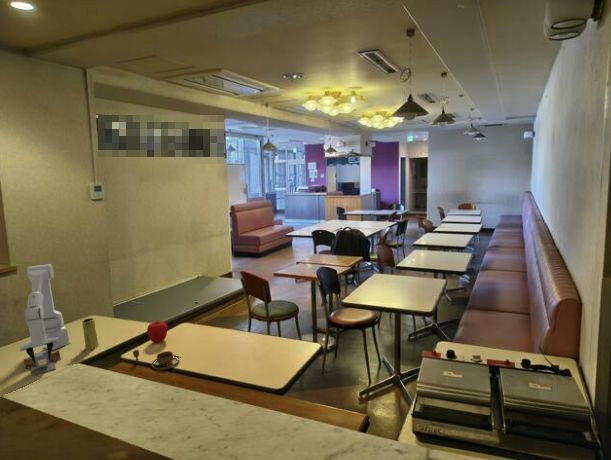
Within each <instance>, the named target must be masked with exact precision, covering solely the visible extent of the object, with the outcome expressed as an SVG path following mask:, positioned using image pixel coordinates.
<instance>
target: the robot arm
mask: <svg viewBox="0 0 611 460" xmlns="http://www.w3.org/2000/svg"><path fill="white" fill-rule="evenodd" d="M26 275H27V278H28V279H29V281H30V282H31V293H30V294H28V297H27V305H26V309H24V312H23V314H24V315H23V317H24V320H25V323H26V326H28V331H29V337H30V338H29V339H30V342H28V343H26V344H22V345H19V351H20V352H23V351H26V353H27V356H29V358H32V360H33V362H34V364H36V362H35V352H34V350H35V349H34V348H38V347H42V346H43V348H44V349H46V351H48V358H49V360H51V359H50V357H51V352H53V351H54V350H57V349H59V348H61V347H64V346H66V345H69V344H71V342H70V338H69V333H68V329H67V328H66V326H65V325H64V324H65V322H64V317H63V313H62V312H61V311H59V310H56V309H55V303H54V299H53V292H52V291H53V290H52V286H51V284H52V283H51V280H52V279H54V278H55V273H54V267H53V265H52V264H51V263H47V264H40V265H39V264H38V265H33V266H30V265H28V267H27V269H26Z"/></svg>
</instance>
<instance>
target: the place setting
mask: <svg viewBox="0 0 611 460" xmlns="http://www.w3.org/2000/svg"><path fill="white" fill-rule="evenodd" d="M132 353H133V357H134V358H135V362H136V363H139V359H138V357H139V356H140V351H139V349H134V350H133V351H132ZM173 356H174V357H177V358H178V359H179V360H178V361H176V362H175V363H174V364H172V365H171V363H172V362H173V360H174V358H173ZM156 360H157V362H156V363H157V364H158V365H161V366H162V365H166V366H162V367H157V366H154V365H155V364H154V365H153V363H154V362H155V361H156ZM178 362H179V363H180V357H179V356H176V354H174V353H173V352H172V351H169V350H168V351H162V352H160V353H158V354H157V355H156V359H154V360H153V361H152V362H151V368H153V369H154V370H157V371H165V370H169V369H172V368H173V367H172V366H174V365H176V364H177V363H178ZM169 363H170V364H169ZM179 363H178V364H179ZM167 364H169V365H167ZM178 364H177V365H178ZM177 365H176V366H177ZM171 367H172V368H171ZM174 367H175V366H174ZM143 368H144V366H142V367H140V369H143Z"/></svg>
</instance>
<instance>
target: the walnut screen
mask: <svg viewBox="0 0 611 460" xmlns="http://www.w3.org/2000/svg"><path fill="white" fill-rule="evenodd" d="M50 359H51V360H49V362H52V361H55V362H56V361H59V360H61V353H60V350H55V351H51V357H50ZM23 363H24V368H25V369H30V368H32V367H33V366H36V364H34V362H33V360H32V358H31V357H28V358H24V359H23Z"/></svg>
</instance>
